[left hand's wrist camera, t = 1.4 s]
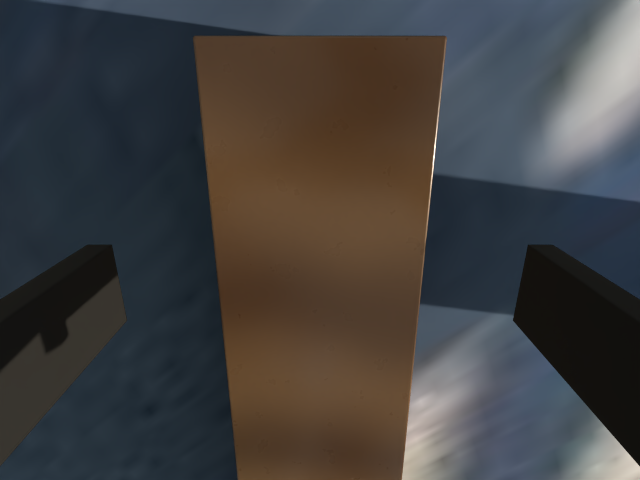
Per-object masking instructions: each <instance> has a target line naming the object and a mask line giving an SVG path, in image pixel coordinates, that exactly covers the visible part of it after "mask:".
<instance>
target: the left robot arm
mask: <svg viewBox="0 0 640 480" xmlns="http://www.w3.org/2000/svg"><path fill="white" fill-rule="evenodd" d="M126 321H127V318H126V313H125V308H124V303H123V298H122V293H121V288H120V283H119V278H118V273H117V268H116V263H115V258H114V253H113V248H112V245H86V246H85V247H83V248H82V249H80V250H78V251H77V252H75V253H74V254H72V255H70V256H69V257H67V258H66V259H64V260H62V261H61V262H59V263H58V264H56V265H54V266H53V267H51V268H50V269H48V270H47V271H45V272H43V273H42V274H40V275H39V276H37V277H35V278H34V279H32V280H31V281H29V282H27V283H26V284H24V285H23V286H21V287H19V288H18V289H16V290H15V291H13V292H11V293H10V294H8V295H7V296H5V297H4V298H2V299H0V466H1V465H2V464H3V462H4V461H5V460H6V459H7V458H8V457H9V455H10V454H11V453H12V452H13V451H14V450H15V449H16V447H17V446H18V445H19V444H20V443H21V442H22V441H23V439H24V438H25V437H26V436H27V435H28V434H29V433H30V431H31V430H32V429H33V428H34V427H35V426H36V424H37V423H38V422H39V421H40V420H41V419H42V418H43V416H44V415H45V414H46V413H47V412H48V411H49V410H50V408H51V407H52V406H53V405H54V404H55V403H56V401H57V400H58V399H59V398H60V397H61V396H62V395H63V393H64V392H65V391H66V390H67V389H68V388H69V387H70V385H71V384H72V383H73V382H74V381H75V380H76V379H77V377H78V376H79V375H80V374H81V373H82V372H83V370H84V369H85V368H86V367H87V366H88V365H89V364H90V362H91V361H92V360H93V359H94V358H95V357H96V356H97V354H98V353H99V352H100V351H101V350H102V349H103V347H104V346H105V345H106V344H107V343H108V342H109V341H110V339H111V338H112V337H113V336H114V335H115V334H116V333H117V331H118V330H119V329H120V328H121V327H122V326H123V325H124V323H125V322H126ZM513 321H514V322H515V323H516V325H517V326H518V327H519V328H520V329H521V330H522V331H523V333H524V334H525V335H526V336H527V337H528V338H529V339H530V341H531V342H532V343H533V344H534V345H535V346H536V347H537V349H538V350H539V351H540V352H541V353H542V354H543V356H544V357H545V358H546V359H547V360H548V361H549V362H550V364H551V365H552V366H553V367H554V368H555V369H556V370H557V372H558V373H559V374H560V375H561V376H562V377H563V379H564V380H565V381H566V382H567V383H568V384H569V385H570V387H571V388H572V389H573V390H574V391H575V392H576V393H577V395H578V396H579V397H580V398H581V399H582V400H583V401H584V403H585V404H586V405H587V406H588V407H589V408H590V410H591V411H592V412H593V413H594V414H595V415H596V416H597V418H598V419H599V420H600V421H601V422H602V423H603V424H604V426H605V427H606V428H607V429H608V430H609V431H610V433H611V434H612V435H613V436H614V437H615V438H616V439H617V441H618V442H619V443H620V444H621V445H622V446H623V447H624V449H625V450H626V451H627V452H628V453H629V454H630V455H631V457H632V458H633V459H634V460H635V461H636V462H637V464H638V465H639V466H640V299H638V298H636V297H635V296H633V295H632V294H630V293H629V292H627V291H625V290H624V289H622V288H621V287H619V286H617V285H616V284H614V283H613V282H611V281H609V280H608V279H606V278H605V277H603V276H601V275H600V274H598V273H597V272H595V271H593V270H592V269H590V268H589V267H587V266H586V265H584V264H582V263H581V262H579V261H578V260H576V259H574V258H573V257H571V256H570V255H568V254H566V253H565V252H563V251H562V250H560V249H558V248H557V247H555V246H554V245H528V248H527V253H526V258H525V263H524V268H523V273H522V278H521V283H520V288H519V293H518V298H517V303H516V308H515V313H514V318H513Z"/></svg>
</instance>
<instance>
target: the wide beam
mask: <svg viewBox="0 0 640 480" xmlns="http://www.w3.org/2000/svg"><path fill="white" fill-rule="evenodd" d="M446 41H447V38H446V36H194V37H193V43H194V53H195V63H196V73H197V83H198V93H199V103H200V112H201V122H202V132H203V142H204V152H205V162H206V172H207V182H208V191H209V201H210V211H211V221H212V231H213V241H214V251H215V261H216V270H217V280H218V290H219V300H220V310H221V320H222V330H223V340H224V349H225V359H226V369H227V379H228V389H229V399H230V409H231V419H232V428H233V438H234V448H235V458H236V468H237V478H238V480H402V471H403V462H404V452H405V442H406V432H407V422H408V413H409V403H410V393H411V383H412V374H413V364H414V354H415V344H416V335H417V325H418V315H419V305H420V295H421V286H422V276H423V266H424V256H425V247H426V237H427V227H428V217H429V207H430V198H431V188H432V178H433V168H434V159H435V149H436V139H437V129H438V120H439V110H440V100H441V90H442V80H443V71H444V61H445V51H446Z"/></svg>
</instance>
